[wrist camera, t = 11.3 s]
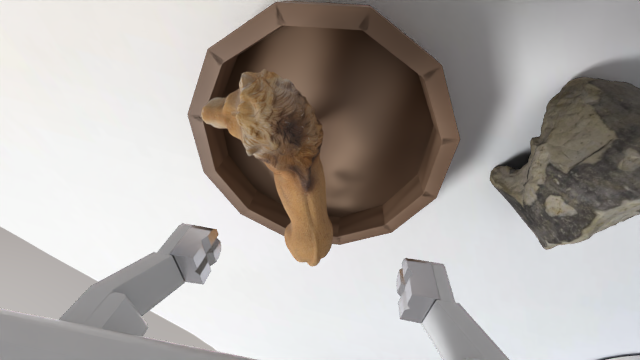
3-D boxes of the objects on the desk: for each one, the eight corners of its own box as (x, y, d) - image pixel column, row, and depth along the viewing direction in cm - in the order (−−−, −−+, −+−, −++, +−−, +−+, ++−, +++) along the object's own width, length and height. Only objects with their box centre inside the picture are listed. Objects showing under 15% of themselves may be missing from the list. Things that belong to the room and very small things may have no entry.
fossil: (593, 224, 22) (616, 320, 15) (480, 176, 25) (459, 236, 19) (741, 102, 15) (905, 178, 8) (559, 59, 19) (570, 88, 12)
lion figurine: (214, 92, 18) (170, 93, 9) (286, 63, 18) (307, 40, 10) (295, 254, 23) (313, 347, 15) (349, 230, 23) (397, 307, 15)
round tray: (484, 10, 15) (510, 14, 12) (408, 227, 26) (413, 254, 23) (187, -5, 16) (154, -5, 14) (233, 206, 27) (219, 229, 24)
